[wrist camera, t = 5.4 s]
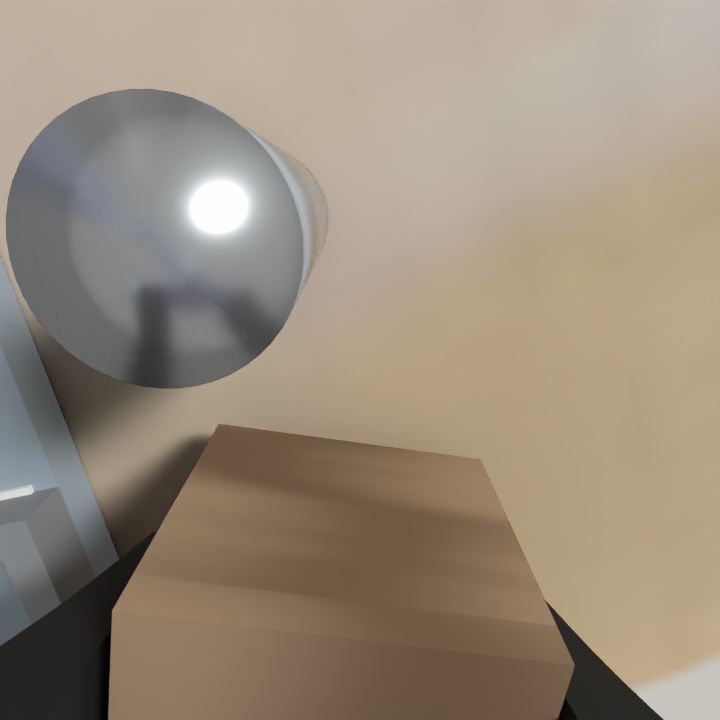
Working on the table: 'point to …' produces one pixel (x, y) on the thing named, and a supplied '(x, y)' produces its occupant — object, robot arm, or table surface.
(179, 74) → the table surface
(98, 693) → the robot arm
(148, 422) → the table surface
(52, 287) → the pin
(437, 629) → the wooden toy block
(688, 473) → the table surface
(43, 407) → the board
